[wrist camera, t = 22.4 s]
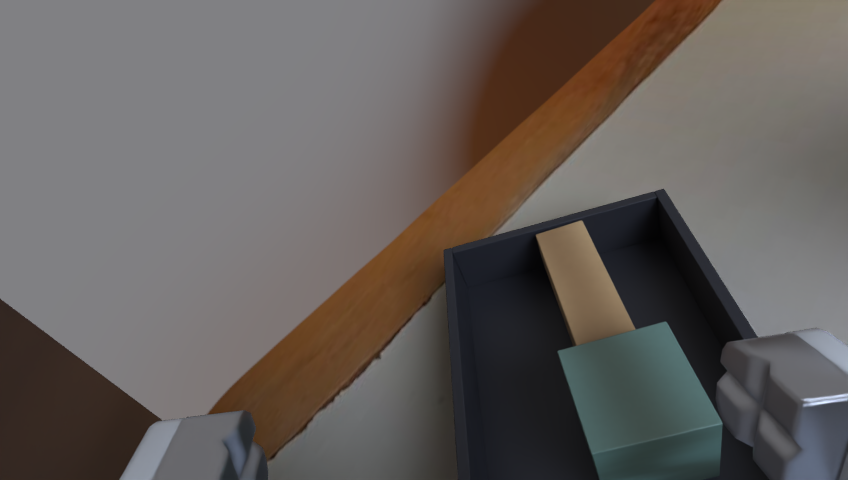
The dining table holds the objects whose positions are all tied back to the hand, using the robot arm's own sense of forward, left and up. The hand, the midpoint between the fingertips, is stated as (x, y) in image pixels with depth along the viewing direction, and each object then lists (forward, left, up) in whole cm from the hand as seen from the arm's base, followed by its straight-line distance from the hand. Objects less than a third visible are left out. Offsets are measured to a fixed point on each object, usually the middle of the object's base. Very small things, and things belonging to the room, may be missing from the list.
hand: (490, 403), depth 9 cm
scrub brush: (+3, +13, -18) cm, 22 cm away
